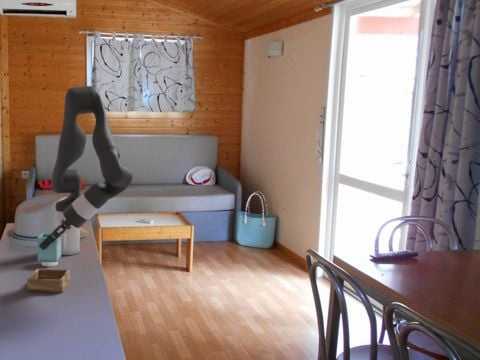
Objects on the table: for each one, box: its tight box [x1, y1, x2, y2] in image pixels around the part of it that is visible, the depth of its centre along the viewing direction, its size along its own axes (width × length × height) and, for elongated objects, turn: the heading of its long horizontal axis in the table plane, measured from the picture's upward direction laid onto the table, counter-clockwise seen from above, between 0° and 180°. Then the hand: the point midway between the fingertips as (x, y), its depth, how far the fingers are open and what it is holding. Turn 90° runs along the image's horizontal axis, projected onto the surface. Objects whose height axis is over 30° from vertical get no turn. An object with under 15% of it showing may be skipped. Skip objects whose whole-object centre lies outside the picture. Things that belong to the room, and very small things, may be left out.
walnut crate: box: [26, 268, 71, 294], centre depth 190 cm, size 12×11×4 cm
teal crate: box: [37, 232, 62, 263], centre depth 188 cm, size 6×6×8 cm
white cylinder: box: [40, 261, 59, 267], centre depth 213 cm, size 7×7×7 cm
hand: (44, 245), depth 188 cm, fingers closed on teal crate, 6 cm apart
